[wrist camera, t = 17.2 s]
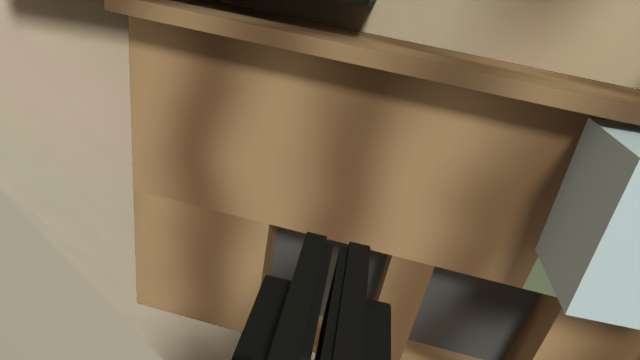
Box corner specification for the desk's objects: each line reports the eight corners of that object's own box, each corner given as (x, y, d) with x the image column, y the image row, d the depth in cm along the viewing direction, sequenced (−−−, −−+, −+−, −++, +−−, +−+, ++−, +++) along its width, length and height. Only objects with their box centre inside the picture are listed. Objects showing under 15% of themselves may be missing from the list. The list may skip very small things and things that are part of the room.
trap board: (159, 276, 27) (121, 321, 23) (159, -11, 19) (103, -7, 16) (585, 391, 24) (615, 462, 21) (774, 117, 17) (871, 155, 13)
